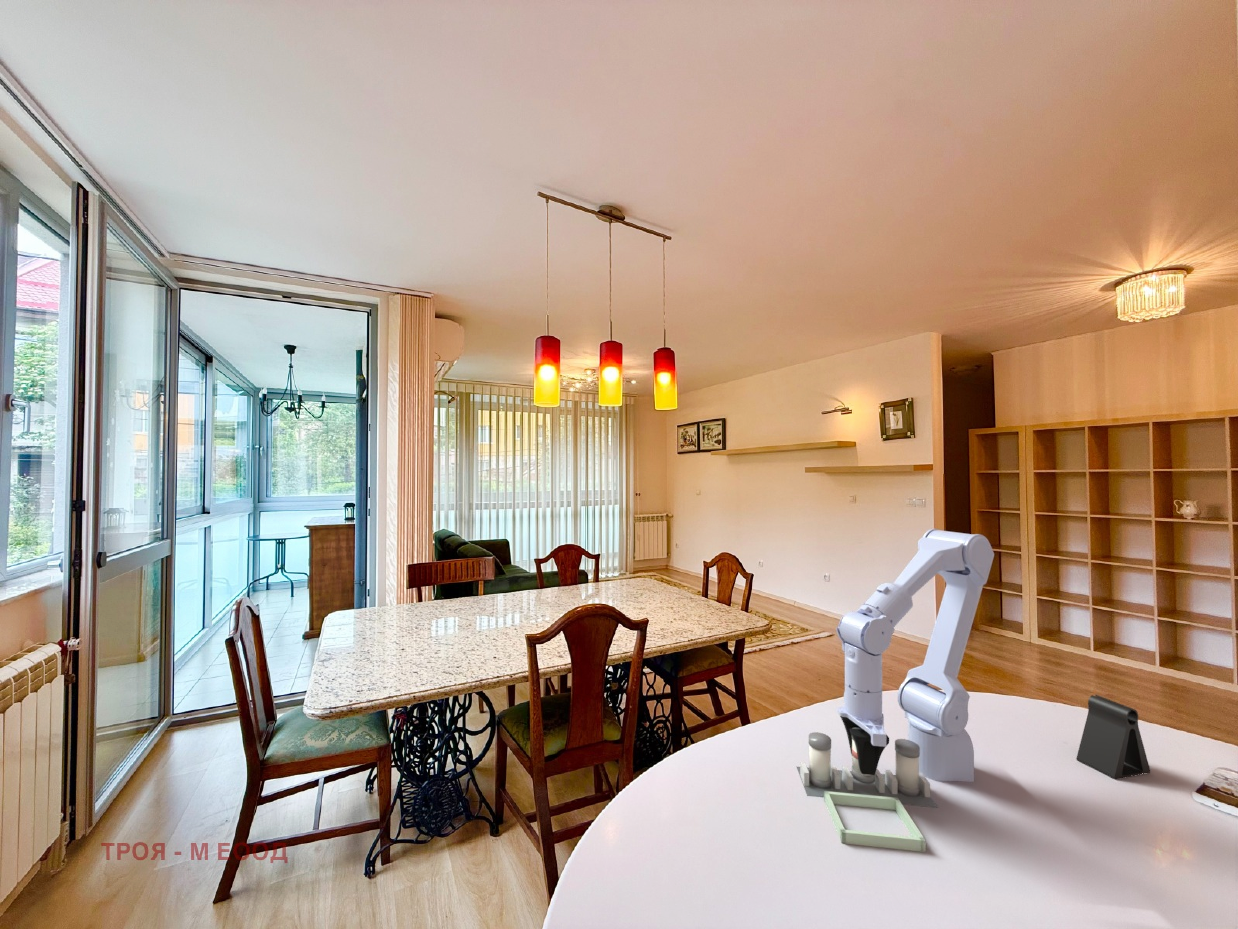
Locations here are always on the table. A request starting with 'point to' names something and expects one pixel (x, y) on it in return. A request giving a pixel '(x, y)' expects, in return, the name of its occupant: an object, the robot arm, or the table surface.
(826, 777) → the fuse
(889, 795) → the clip board
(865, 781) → the marked fuse
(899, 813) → the tray
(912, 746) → the fuse
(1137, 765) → the phone stand
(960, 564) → the robot arm
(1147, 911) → the table surface
